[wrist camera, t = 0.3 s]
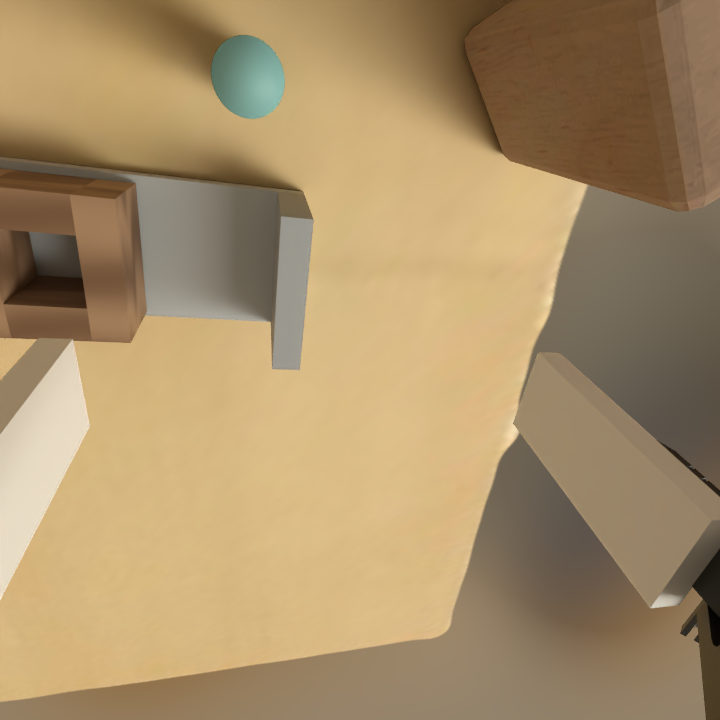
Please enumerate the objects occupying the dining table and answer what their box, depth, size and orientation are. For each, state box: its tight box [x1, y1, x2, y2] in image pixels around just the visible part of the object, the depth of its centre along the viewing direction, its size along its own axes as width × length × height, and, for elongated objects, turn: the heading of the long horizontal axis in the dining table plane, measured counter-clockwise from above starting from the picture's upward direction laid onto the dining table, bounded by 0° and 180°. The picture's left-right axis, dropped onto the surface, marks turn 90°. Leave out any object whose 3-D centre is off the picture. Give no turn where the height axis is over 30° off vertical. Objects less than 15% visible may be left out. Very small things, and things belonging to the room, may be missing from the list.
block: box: [465, 0, 720, 212], centre depth 27 cm, size 10×10×20 cm
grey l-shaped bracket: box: [0, 156, 313, 370], centre depth 33 cm, size 11×22×9 cm, turn 82°
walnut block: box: [0, 168, 147, 343], centre depth 32 cm, size 10×10×6 cm
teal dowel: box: [211, 35, 285, 119], centre depth 27 cm, size 3×3×14 cm
